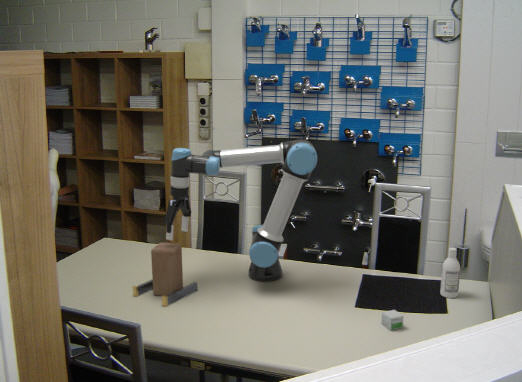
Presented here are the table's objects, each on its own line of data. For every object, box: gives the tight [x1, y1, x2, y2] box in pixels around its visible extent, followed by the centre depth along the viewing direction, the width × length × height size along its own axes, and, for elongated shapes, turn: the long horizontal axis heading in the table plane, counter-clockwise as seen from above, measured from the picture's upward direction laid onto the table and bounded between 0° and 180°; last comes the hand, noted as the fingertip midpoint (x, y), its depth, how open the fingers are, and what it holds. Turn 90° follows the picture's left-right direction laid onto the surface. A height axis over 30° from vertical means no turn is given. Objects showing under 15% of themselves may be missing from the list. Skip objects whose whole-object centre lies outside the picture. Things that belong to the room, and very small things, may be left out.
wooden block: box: [150, 242, 184, 297], centre depth 225 cm, size 10×10×20 cm
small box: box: [380, 309, 404, 331], centre depth 196 cm, size 6×6×5 cm
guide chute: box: [132, 278, 198, 308], centre depth 225 cm, size 18×19×4 cm
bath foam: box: [439, 247, 461, 299], centre depth 221 cm, size 7×7×20 cm
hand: (177, 235), depth 228 cm, fingers open, 13 cm apart
